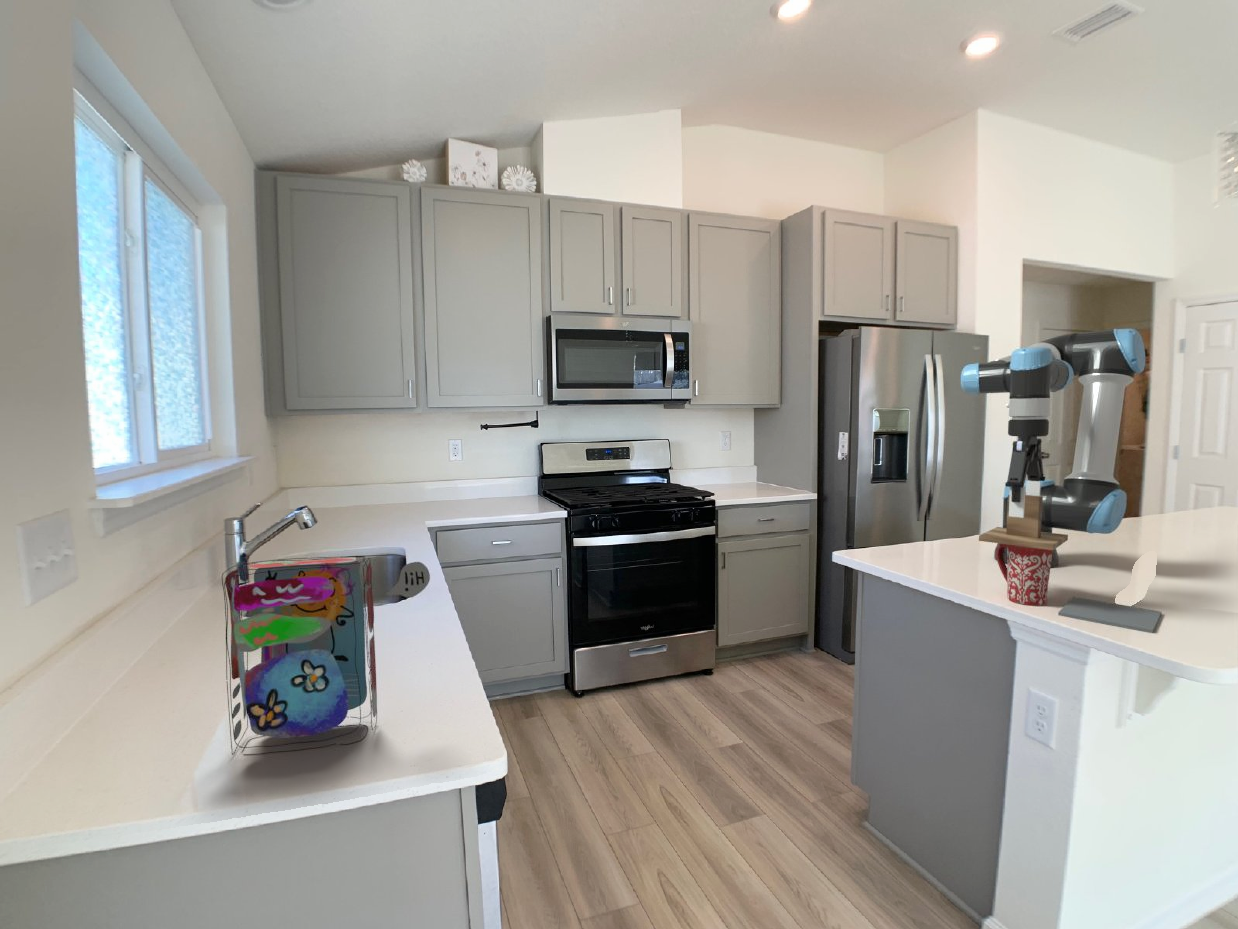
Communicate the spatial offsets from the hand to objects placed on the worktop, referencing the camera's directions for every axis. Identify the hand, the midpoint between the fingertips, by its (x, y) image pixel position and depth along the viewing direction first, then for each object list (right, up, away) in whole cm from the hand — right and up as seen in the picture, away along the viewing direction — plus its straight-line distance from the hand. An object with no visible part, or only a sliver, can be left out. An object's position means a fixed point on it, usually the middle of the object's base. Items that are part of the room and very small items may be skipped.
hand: (1024, 512), depth 137 cm
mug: (0, -20, +2) cm, 20 cm away
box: (-130, -27, -53) cm, 143 cm away
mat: (+11, -21, -10) cm, 25 cm away
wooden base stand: (0, -6, 0) cm, 6 cm away
